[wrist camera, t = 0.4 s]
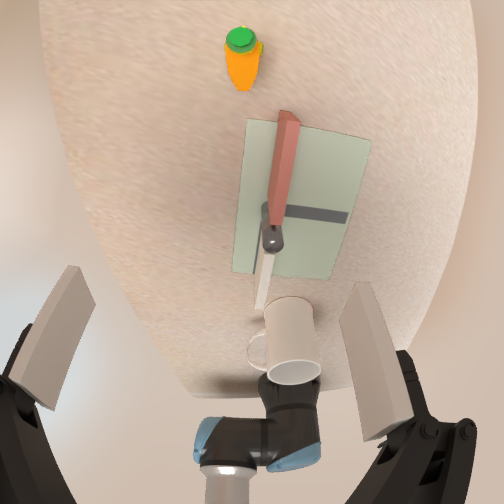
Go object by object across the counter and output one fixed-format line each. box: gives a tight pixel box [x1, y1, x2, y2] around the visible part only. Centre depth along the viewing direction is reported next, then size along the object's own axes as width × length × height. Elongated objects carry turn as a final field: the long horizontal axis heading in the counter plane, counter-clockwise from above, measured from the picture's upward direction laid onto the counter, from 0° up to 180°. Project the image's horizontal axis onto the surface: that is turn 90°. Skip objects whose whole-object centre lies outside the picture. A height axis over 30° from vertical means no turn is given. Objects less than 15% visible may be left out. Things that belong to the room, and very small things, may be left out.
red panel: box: [267, 110, 301, 226], centre depth 27 cm, size 10×1×7 cm, turn 173°
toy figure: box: [225, 25, 263, 91], centre depth 19 cm, size 7×4×12 cm, turn 1°
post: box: [261, 201, 284, 253], centre depth 32 cm, size 2×2×8 cm
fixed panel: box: [255, 230, 275, 310], centre depth 36 cm, size 9×1×7 cm, turn 173°
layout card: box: [232, 118, 372, 280], centre depth 35 cm, size 22×15×1 cm
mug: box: [245, 297, 322, 385], centre depth 42 cm, size 12×8×12 cm
